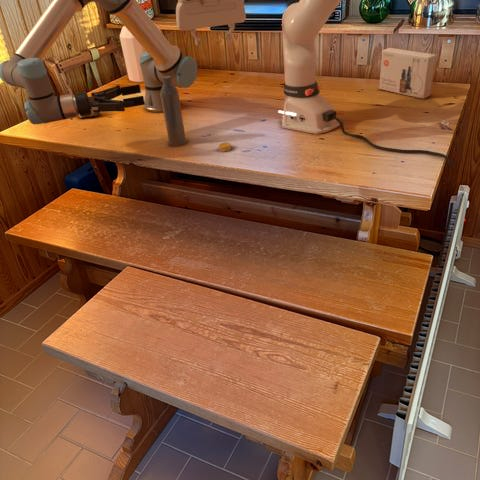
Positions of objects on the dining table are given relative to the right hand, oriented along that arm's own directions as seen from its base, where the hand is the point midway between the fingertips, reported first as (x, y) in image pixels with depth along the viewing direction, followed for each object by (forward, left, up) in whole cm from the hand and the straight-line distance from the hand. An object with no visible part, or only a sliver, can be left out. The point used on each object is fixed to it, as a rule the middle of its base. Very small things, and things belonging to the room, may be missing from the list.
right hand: (213, 42), depth 138 cm
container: (+105, -36, -34) cm, 116 cm away
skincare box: (-17, -82, -34) cm, 90 cm away
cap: (0, 0, -33) cm, 33 cm away
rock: (+75, +13, -34) cm, 83 cm away
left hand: (+23, +15, -15) cm, 31 cm away
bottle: (+19, +7, -34) cm, 39 cm away
